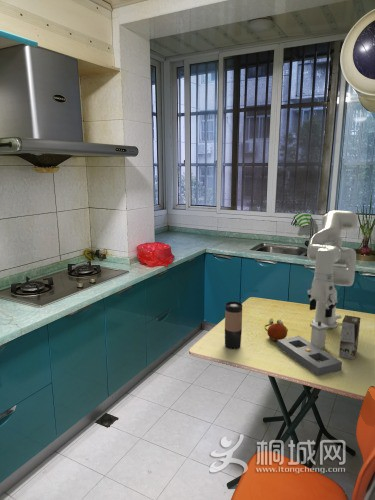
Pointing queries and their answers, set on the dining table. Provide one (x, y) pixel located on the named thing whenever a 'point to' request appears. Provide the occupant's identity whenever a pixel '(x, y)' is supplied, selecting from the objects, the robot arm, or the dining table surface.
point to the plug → (318, 334)
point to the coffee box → (349, 337)
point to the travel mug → (233, 325)
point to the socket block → (309, 355)
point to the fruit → (277, 331)
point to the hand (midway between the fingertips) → (320, 313)
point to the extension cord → (277, 322)
